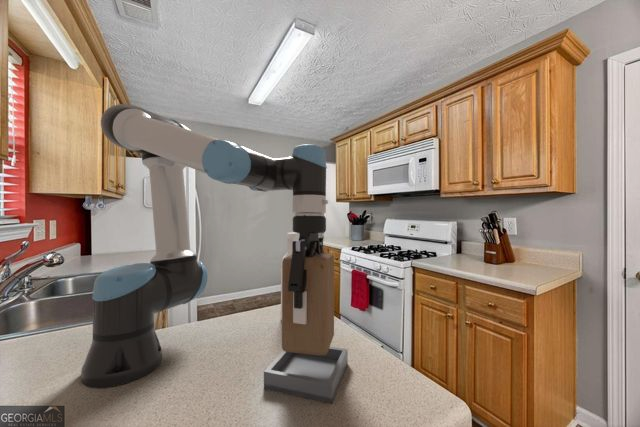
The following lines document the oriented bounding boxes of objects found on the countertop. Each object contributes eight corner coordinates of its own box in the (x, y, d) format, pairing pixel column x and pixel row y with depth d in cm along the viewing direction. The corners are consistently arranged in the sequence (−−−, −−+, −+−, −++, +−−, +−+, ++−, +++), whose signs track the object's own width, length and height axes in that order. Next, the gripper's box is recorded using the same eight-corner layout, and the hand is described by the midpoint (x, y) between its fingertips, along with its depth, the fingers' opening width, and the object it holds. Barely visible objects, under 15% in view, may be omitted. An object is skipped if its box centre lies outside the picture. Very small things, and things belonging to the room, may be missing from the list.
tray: (263, 388, 55) (263, 371, 55) (292, 354, 69) (292, 340, 69) (331, 403, 50) (331, 385, 50) (347, 363, 64) (347, 349, 64)
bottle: (281, 324, 88) (282, 233, 88) (279, 316, 95) (279, 232, 96) (305, 322, 90) (305, 233, 91) (301, 314, 98) (301, 232, 98)
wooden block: (327, 358, 54) (327, 259, 54) (280, 353, 56) (280, 257, 56) (334, 336, 63) (334, 252, 64) (294, 333, 65) (294, 251, 66)
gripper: (307, 214, 48) (307, 337, 48) (337, 215, 70) (337, 300, 70) (270, 214, 50) (269, 332, 50) (310, 215, 72) (310, 297, 72)
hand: (309, 313), depth 60 cm, fingers closed on wooden block, 10 cm apart
